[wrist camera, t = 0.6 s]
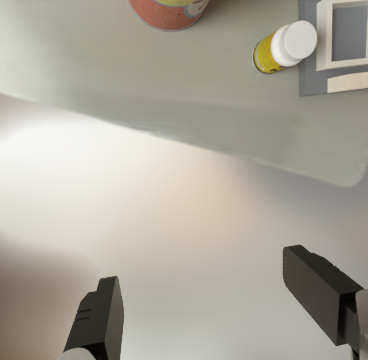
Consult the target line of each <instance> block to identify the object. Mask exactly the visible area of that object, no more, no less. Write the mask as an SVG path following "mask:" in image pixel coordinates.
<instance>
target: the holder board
mask: <svg viewBox="0 0 368 360" xmlns="http://www.w3.org/2000/svg"><path fill="white" fill-rule="evenodd" d="M301 20H303V21H307V22H309V23H311V24H312V25H313V26H314V28H315V30H316V33H317V44H316V47H315V49H314V51H313V52H312V53H311V54H310V55H309V56H308V57H306V58H304V59H302V60H301V61H300V62H299V92H300V97H301V96H309V95H317V94H325V93H333V92H341V91H349V90H357V89H365V88H368V0H299V21H301Z"/></svg>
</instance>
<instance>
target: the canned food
mask: <svg viewBox="0 0 368 360" xmlns="http://www.w3.org/2000/svg"><path fill="white" fill-rule="evenodd" d="M128 2H129V4H130V6H131V8H132V9H133V11H134V12H135V14H136V15H137V16H138V17H139V18H140V19H141V20H142V21H143V22H144V23H146V24H147V25H149V26H151V27H152V28H155V29H157V30H160V31H166V32H175V31H180V30H183V29H186V28H188V27H189V26H191V25H192V24H194V23H195V22H196V21H197V20H198V19H199V18H200V17H201V15H202V14H203V12H204V11H205V9H206V6H207V4H208V2H209V0H128Z"/></svg>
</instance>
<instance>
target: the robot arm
mask: <svg viewBox="0 0 368 360" xmlns="http://www.w3.org/2000/svg"><path fill="white" fill-rule="evenodd" d="M283 279H284V282H285V285H286V287H287V288H288V289H289V291H290V292H291V293H292V294H293V295H294V297H295V298H296V299H297V300H298V301H299V303H300V304H301V305H302V306H303V307H304V308H305V310H306V311H307V312H308V313H309V314H310V315H311V316H312V318H313V319H314V320H315V322H316V323H317V324H318V325H319V326H320V328H321V329H322V330H323V331H324V332H325V333H326V335H327V336H328V337H329V338H330V339H331V340H332V342H333V343H334V344H335V345H336V346H339V345H343V344H347V343H348V344H349V345H350V346H351V360H368V289H364V288H363V287H361V286H360V285H359V284H357V283H356V282H355V281H354V280H352V279H351V278H350V277H348V276H347V275H346V274H345V273H343V272H342V271H340V270H339V269H338V268H337V267H336V266H333V264H331V263H330V262H329V261H328V260H327V259H325V258H324V257H321V256H319V255H317V254H315V253H310V252H309V251H308V250H306V249H305V248H304V247H303V246H302V245H295V246H288V247H284V249H283ZM123 323H124V308H123V301H122V296H121V291H120V285H119V280H118V277H117V276H113V277H107V278H101V279H100V280H99V284H98V287H97V291H95V292H89V293H88V294H87V295H86V296H85V297H84V298H83V300H82V301H81V302H80V305H79V308H78V311H77V314H76V317H75V321H74V323H73V325H72V328H71V331H70V334H69V337H68V340H67V343H66V346H65V349H64V351H63V353H62V354H61V355H59V356H58V357H57V358H56V359H54V360H120V353H121V342H122V333H123Z"/></svg>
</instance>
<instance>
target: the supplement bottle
mask: <svg viewBox="0 0 368 360" xmlns="http://www.w3.org/2000/svg"><path fill="white" fill-rule="evenodd" d="M316 44H317V33H316V30H315V28H314V26H313V25H312V24H311V23H309V22H307V21H303V20H301V21H297V22H294V23H293V24H287V25H284V26H282V27H281V28H279V29H278V30H276V31H275V32H273V33H272V34H270V35H269V36H267V37H266V38H264V39H263V40H261V41H260V42H259V43H258V44H257V45H256V46H255V48H254V49H253V52H252V63H253V65H254V67H255V69H256V70H257V71H258V72H260V73H262V74H272V73H275V72H277V71H280V70H283V69H286V68H288V67H291V66H294V65H296V64H297V63H299V62H300V61H301V60H302V59H304V58H306V57H308V56H309V55H310V54H311V53H312V52H313V51H314V49H315V47H316Z"/></svg>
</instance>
